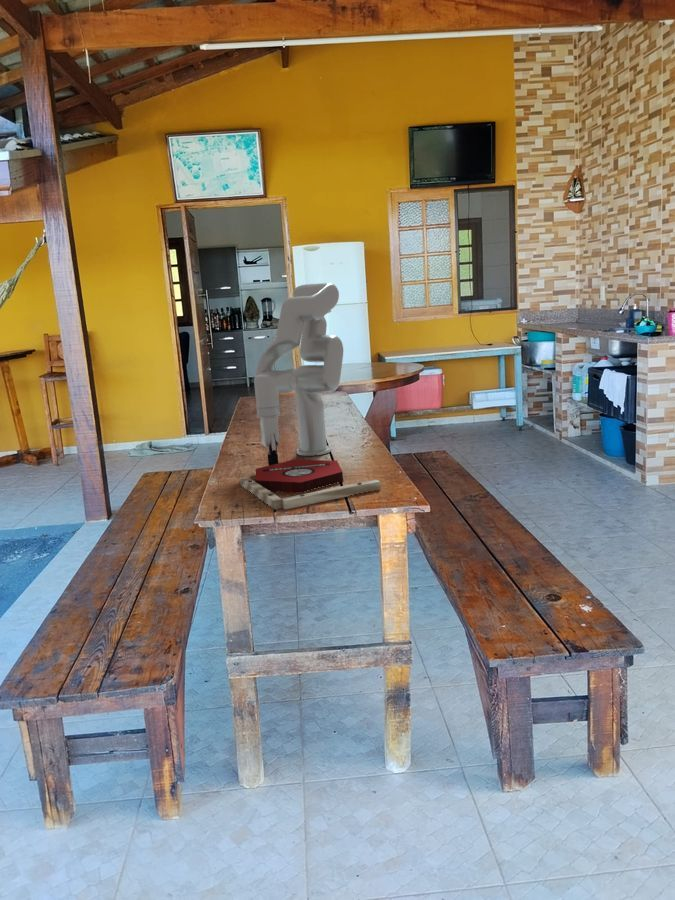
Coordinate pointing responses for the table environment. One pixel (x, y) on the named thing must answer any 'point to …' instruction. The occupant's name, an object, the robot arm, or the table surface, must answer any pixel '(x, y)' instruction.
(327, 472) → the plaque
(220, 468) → the table surface
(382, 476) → the table surface
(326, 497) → the corner rail
